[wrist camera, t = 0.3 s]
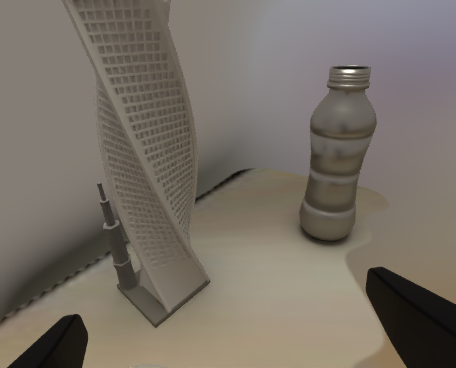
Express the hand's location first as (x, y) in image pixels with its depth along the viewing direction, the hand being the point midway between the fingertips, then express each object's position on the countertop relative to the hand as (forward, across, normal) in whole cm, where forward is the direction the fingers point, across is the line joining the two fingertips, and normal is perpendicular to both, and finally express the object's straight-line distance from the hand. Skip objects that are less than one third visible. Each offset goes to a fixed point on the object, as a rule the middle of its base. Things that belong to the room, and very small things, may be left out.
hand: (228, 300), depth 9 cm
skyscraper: (+18, +6, +14) cm, 23 cm away
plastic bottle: (+24, -14, +15) cm, 31 cm away
